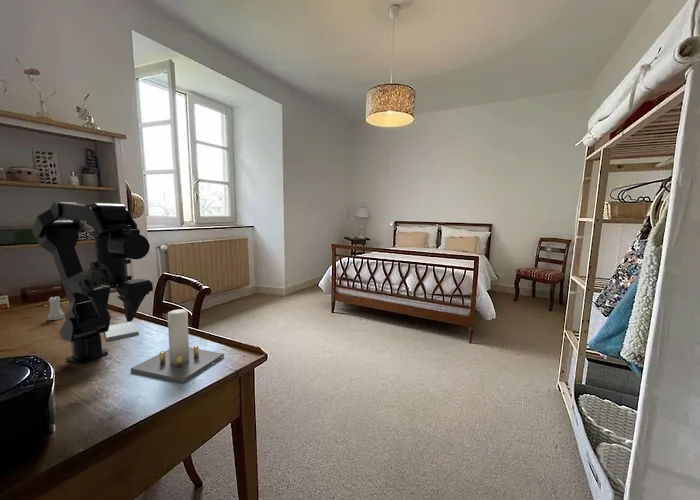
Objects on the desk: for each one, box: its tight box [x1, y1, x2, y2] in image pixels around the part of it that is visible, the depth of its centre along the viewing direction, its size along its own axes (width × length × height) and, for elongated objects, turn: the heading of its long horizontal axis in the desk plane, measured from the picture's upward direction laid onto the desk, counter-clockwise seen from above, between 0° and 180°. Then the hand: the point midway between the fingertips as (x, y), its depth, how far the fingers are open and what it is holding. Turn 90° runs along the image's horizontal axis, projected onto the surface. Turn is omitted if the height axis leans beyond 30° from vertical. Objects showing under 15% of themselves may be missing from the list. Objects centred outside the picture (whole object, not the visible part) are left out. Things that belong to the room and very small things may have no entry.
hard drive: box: [104, 321, 140, 342], centre depth 99 cm, size 2×8×12 cm
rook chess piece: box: [47, 295, 65, 321], centre depth 109 cm, size 4×4×8 cm
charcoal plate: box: [130, 345, 225, 384], centre depth 79 cm, size 16×14×4 cm
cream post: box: [167, 308, 190, 364], centre depth 79 cm, size 4×4×13 cm
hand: (115, 319), depth 75 cm, fingers open, 9 cm apart
